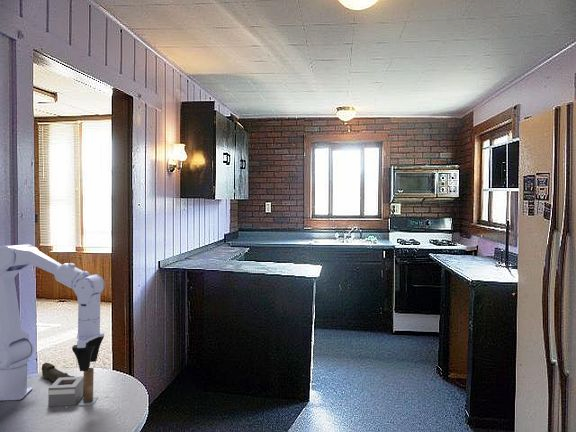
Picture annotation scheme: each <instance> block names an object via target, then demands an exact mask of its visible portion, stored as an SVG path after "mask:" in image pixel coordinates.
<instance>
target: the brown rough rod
mask: <svg viewBox="0 0 576 432" xmlns="http://www.w3.org/2000/svg"><path fill="white" fill-rule="evenodd" d="M41 375H42V377H43V378H44V379H45V380H47V381H48V380H51V382H53V383H54V382H55V381H56V380H57V379H58V378H62V377H76V376H74V375H69V374H68V373H67V372H63V371H61V370H59V369H57V368H56V365H54V364H52V363H50V362H44V363H43V364H42V365H41Z"/></svg>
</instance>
